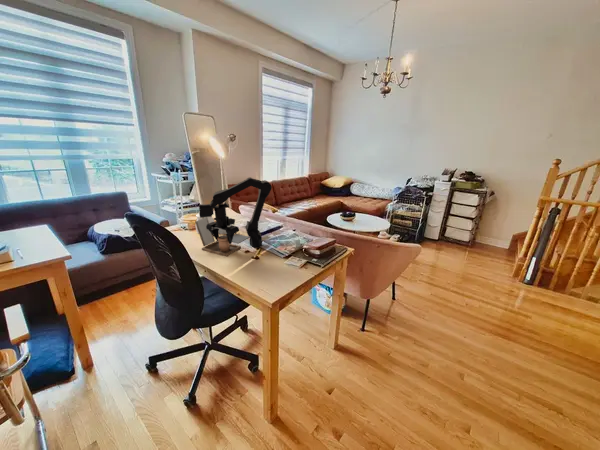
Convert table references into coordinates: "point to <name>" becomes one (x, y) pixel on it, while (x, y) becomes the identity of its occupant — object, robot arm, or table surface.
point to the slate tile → (239, 238)
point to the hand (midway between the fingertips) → (224, 242)
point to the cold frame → (215, 249)
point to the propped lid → (204, 231)
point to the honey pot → (210, 219)
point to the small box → (223, 230)
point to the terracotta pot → (223, 243)
